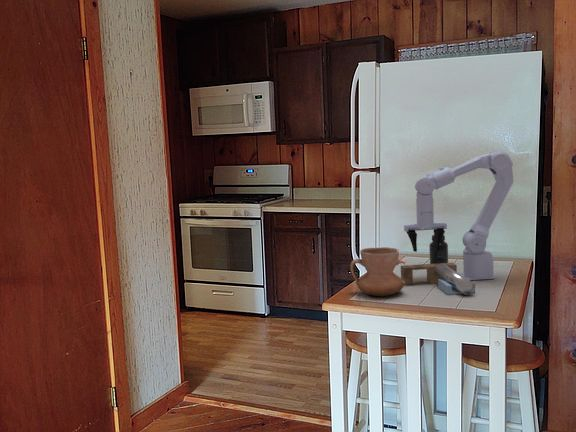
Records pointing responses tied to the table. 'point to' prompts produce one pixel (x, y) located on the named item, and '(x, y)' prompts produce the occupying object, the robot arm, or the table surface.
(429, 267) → the beam
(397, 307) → the table surface
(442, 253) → the supplement bottle
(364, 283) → the ceramic jug
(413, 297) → the table surface
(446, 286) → the cradle
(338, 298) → the table surface
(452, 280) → the axle
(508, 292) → the table surface
